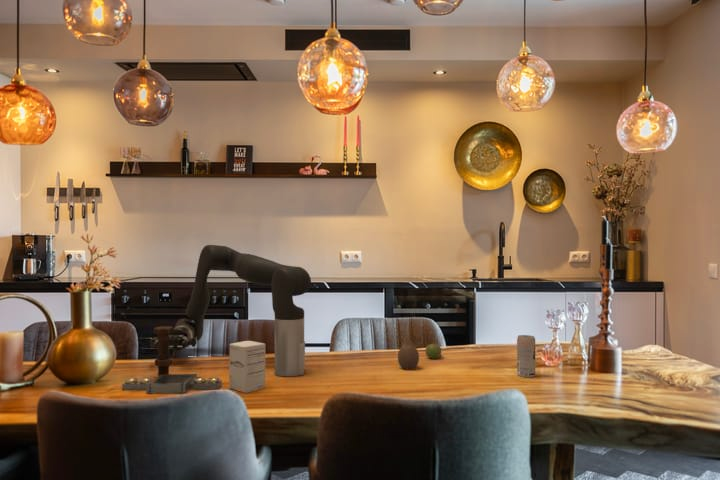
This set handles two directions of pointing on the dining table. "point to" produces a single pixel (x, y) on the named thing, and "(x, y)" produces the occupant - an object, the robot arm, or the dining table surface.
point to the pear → (433, 351)
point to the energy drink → (526, 356)
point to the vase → (408, 356)
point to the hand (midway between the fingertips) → (169, 345)
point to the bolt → (163, 349)
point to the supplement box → (247, 366)
